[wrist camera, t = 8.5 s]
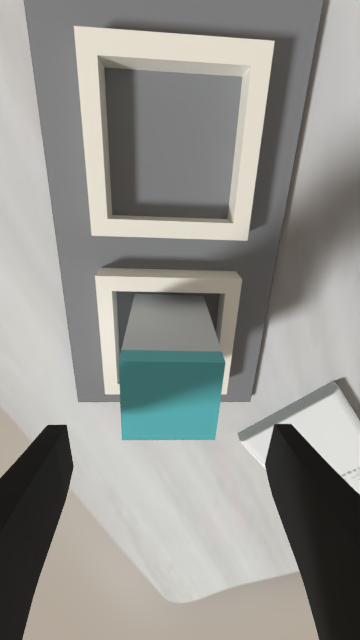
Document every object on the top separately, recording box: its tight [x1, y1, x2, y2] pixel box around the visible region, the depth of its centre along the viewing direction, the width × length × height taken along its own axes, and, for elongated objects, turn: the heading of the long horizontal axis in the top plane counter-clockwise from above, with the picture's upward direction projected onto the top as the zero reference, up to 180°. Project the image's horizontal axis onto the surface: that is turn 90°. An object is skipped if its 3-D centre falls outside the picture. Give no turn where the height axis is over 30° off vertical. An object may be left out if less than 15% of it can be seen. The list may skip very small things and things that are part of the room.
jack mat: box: [24, 0, 323, 402], centre depth 17 cm, size 21×12×1 cm, turn 178°
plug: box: [119, 294, 225, 440], centre depth 15 cm, size 4×4×7 cm
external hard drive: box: [237, 381, 360, 494], centre depth 25 cm, size 2×8×12 cm
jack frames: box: [74, 26, 275, 394], centre depth 16 cm, size 17×8×2 cm, turn 178°
